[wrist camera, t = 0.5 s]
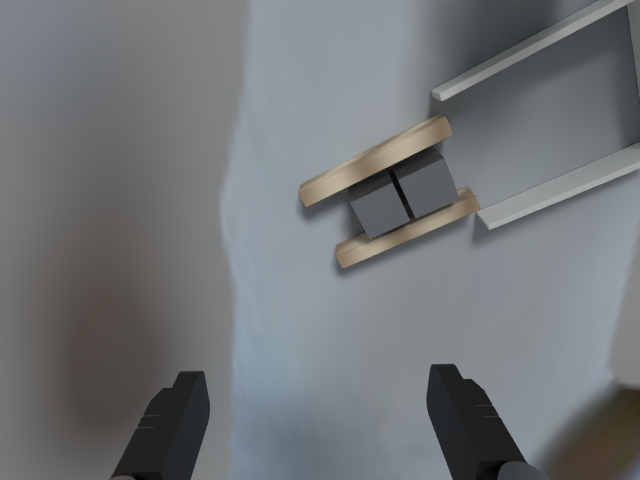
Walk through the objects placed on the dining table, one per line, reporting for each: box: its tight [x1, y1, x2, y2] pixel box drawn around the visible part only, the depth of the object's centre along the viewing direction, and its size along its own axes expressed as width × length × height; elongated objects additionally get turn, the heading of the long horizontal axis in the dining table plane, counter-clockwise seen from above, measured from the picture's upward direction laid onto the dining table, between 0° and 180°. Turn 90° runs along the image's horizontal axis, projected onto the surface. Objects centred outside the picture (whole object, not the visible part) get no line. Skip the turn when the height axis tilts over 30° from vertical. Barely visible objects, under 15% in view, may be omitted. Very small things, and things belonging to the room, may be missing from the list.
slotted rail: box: [298, 114, 480, 268], centre depth 33 cm, size 14×9×2 cm, turn 119°
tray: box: [431, 0, 640, 230], centre depth 29 cm, size 16×13×3 cm
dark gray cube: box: [392, 147, 460, 218], centre depth 32 cm, size 4×4×4 cm
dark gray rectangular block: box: [349, 170, 410, 239], centre depth 33 cm, size 4×4×4 cm
